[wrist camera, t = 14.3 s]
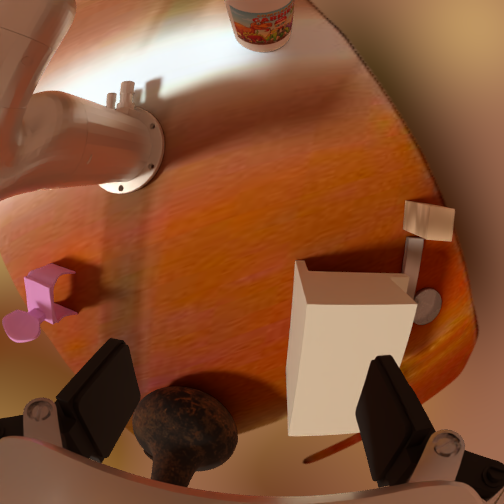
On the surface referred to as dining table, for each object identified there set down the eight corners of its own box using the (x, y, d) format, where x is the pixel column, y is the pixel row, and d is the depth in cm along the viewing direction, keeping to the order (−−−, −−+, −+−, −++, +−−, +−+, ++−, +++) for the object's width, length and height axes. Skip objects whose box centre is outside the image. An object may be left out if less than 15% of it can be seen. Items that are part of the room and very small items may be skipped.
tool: (405, 200, 34) (430, 205, 28) (428, 203, 34) (454, 209, 27) (384, 331, 39) (400, 356, 33) (406, 330, 39) (424, 353, 32)
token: (410, 288, 38) (413, 291, 36) (440, 285, 37) (444, 288, 36) (404, 323, 39) (407, 327, 38) (434, 319, 39) (437, 322, 37)
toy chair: (80, 270, 41) (19, 304, 26) (82, 315, 43) (30, 358, 28) (47, 259, 41) (-12, 286, 26) (50, 302, 43) (-1, 337, 28)
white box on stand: (295, 260, 38) (307, 304, 24) (391, 263, 37) (441, 303, 23) (285, 369, 42) (288, 435, 28) (369, 367, 41) (394, 427, 28)
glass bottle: (130, 392, 46) (65, 500, 19) (191, 354, 43) (125, 505, 15) (194, 444, 49) (162, 552, 22) (261, 417, 45) (249, 554, 18)
